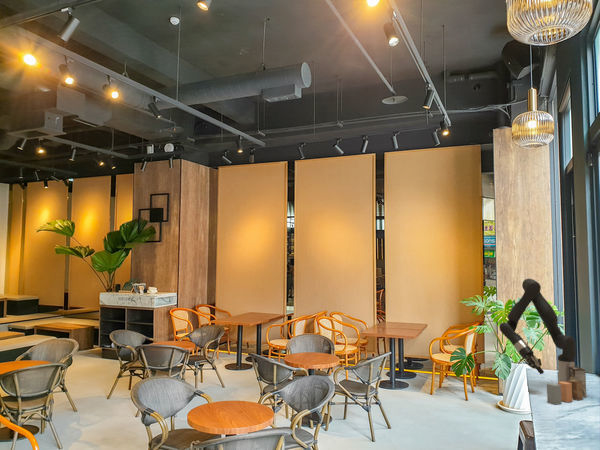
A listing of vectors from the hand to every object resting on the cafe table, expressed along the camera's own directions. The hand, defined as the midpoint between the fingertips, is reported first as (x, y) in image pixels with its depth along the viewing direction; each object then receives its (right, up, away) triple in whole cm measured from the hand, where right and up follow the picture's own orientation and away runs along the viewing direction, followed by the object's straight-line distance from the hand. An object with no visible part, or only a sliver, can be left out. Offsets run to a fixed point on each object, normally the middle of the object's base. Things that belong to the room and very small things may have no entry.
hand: (542, 373), depth 273 cm
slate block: (-3, -11, -18) cm, 21 cm away
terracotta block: (+6, -12, -13) cm, 19 cm away
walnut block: (+15, -12, -9) cm, 21 cm away
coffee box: (+21, -13, -1) cm, 25 cm away
